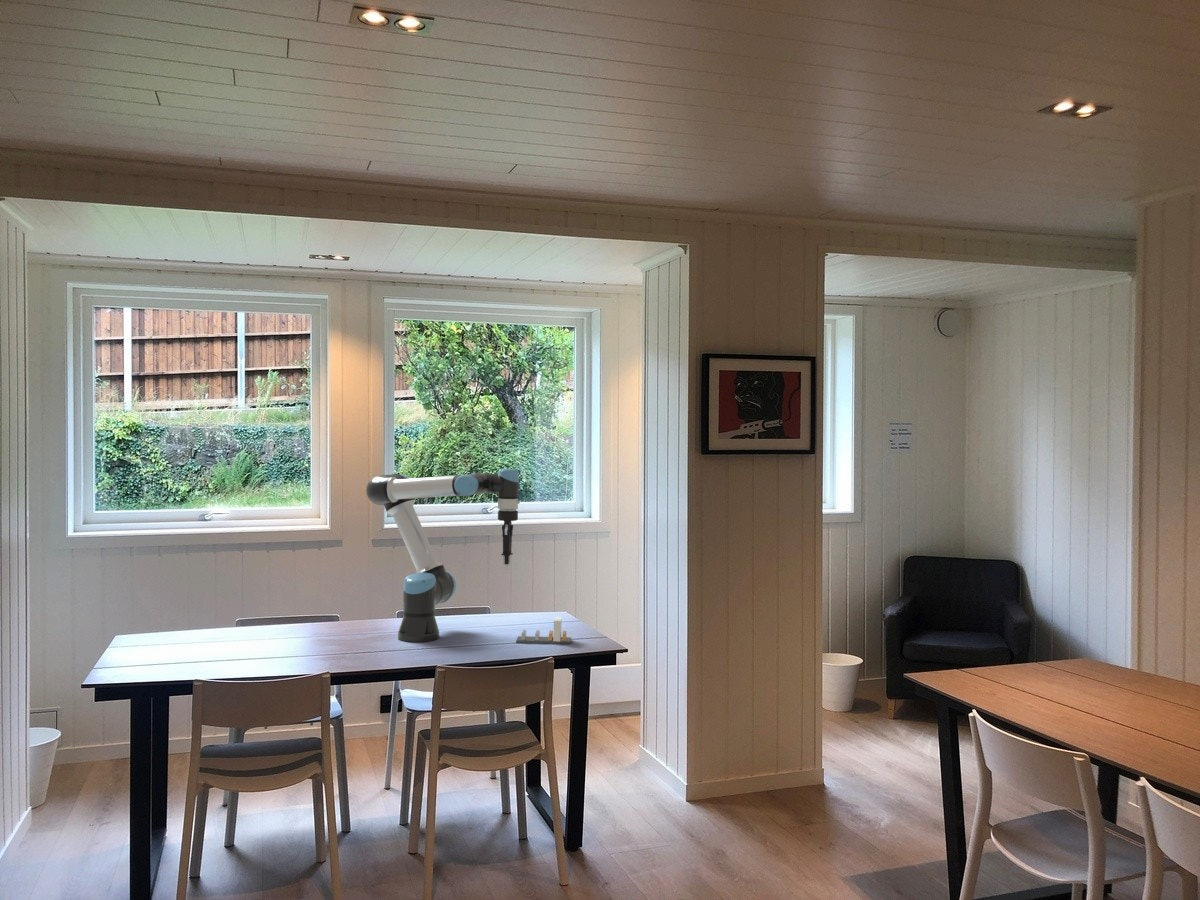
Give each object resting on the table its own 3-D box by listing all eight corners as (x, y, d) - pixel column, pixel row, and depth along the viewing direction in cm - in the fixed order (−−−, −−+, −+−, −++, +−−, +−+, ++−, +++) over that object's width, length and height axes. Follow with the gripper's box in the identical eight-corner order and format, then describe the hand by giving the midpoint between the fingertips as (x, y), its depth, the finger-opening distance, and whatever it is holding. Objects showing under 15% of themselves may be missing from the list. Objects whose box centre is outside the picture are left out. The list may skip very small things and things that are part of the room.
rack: (516, 643, 345) (516, 633, 345) (518, 638, 352) (518, 629, 352) (570, 644, 344) (571, 634, 344) (571, 640, 351) (571, 630, 351)
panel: (553, 641, 344) (553, 620, 344) (554, 636, 352) (554, 616, 352) (560, 641, 344) (560, 621, 344) (561, 636, 352) (561, 616, 352)
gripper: (516, 511, 347) (515, 575, 348) (519, 508, 360) (518, 570, 361) (496, 511, 347) (494, 574, 348) (499, 508, 360) (498, 569, 361)
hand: (506, 572), depth 354 cm, fingers closed
